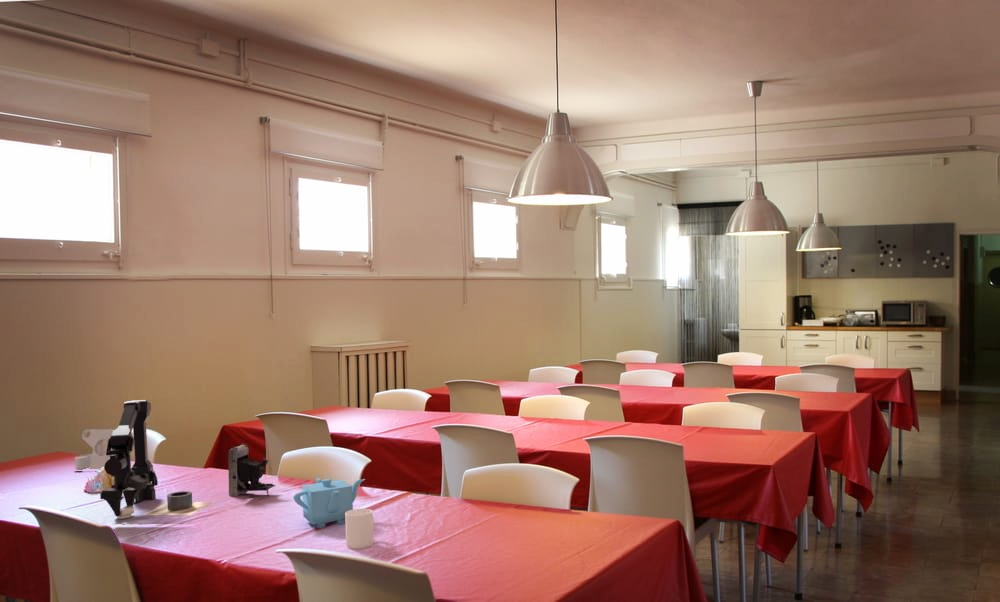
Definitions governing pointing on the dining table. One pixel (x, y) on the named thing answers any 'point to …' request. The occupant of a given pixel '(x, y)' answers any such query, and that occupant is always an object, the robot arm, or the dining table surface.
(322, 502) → the teakettle
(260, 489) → the vintage camera
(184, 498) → the ring
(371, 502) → the dining table surface
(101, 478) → the candy landscape model
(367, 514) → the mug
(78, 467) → the phone holder
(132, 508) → the beige mottled stone
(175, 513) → the mount board
